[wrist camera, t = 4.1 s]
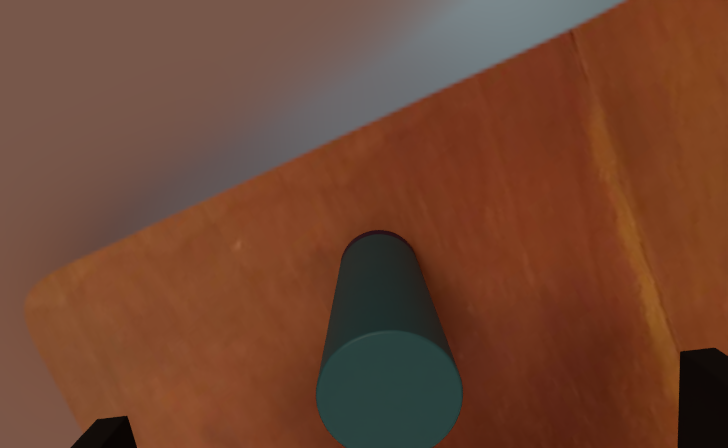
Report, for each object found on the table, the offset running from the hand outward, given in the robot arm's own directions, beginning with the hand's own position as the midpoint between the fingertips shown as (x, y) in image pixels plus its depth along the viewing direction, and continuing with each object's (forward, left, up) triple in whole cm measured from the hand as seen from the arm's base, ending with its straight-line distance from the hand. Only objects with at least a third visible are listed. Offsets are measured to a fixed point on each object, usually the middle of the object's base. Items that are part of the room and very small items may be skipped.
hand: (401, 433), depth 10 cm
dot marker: (0, 0, -12) cm, 12 cm away
